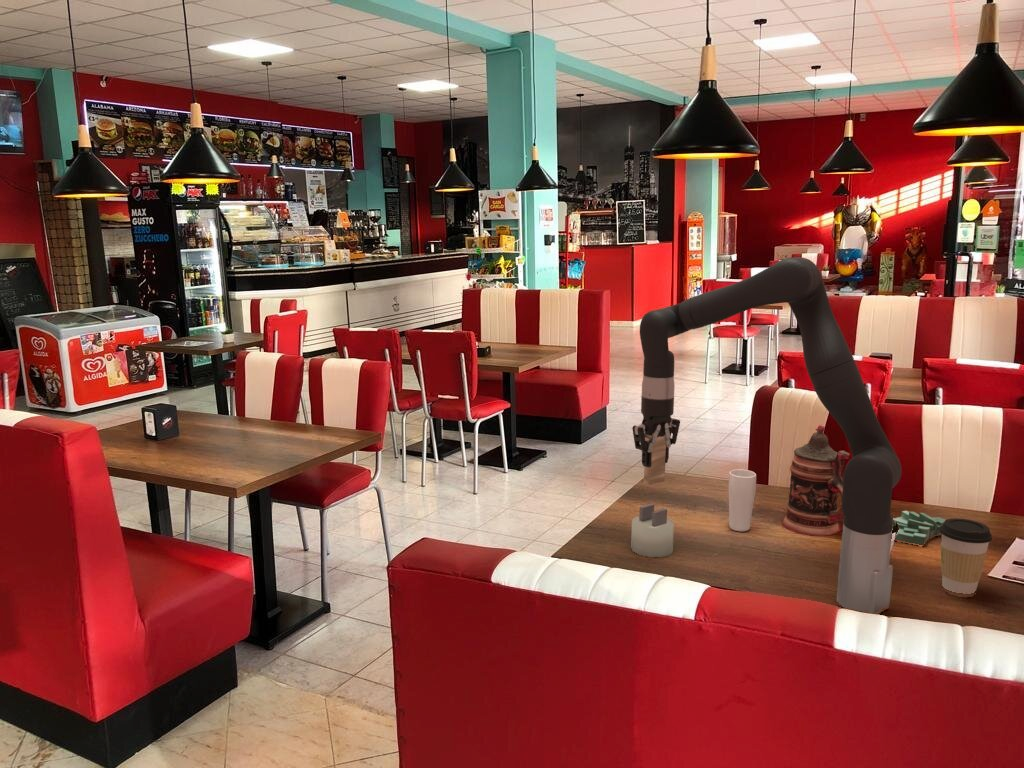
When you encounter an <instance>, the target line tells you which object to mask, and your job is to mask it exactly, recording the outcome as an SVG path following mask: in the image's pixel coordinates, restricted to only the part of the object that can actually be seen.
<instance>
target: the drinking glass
mask: <svg viewBox="0 0 1024 768" xmlns="http://www.w3.org/2000/svg"><path fill="white" fill-rule="evenodd" d="M727 485H728V488H727V489H728V517H729V518H728V527H729V529H731V530H732V531H734V532H735V531H736V532H741V533H743V532H748V531H750V529H751V524H752V515H753V508H754V504H755V497H756V488H757V474H756V473H755V472H754V471H752V470H748V469H742V468H741V469H740V468H739V469H732V470H730V471H729V476H728V484H727Z"/></svg>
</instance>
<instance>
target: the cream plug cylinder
mask: <svg viewBox="0 0 1024 768" xmlns="http://www.w3.org/2000/svg"><path fill="white" fill-rule="evenodd" d="M638 514H639V515H637V516H634V517H632V520H631V537H630V538H631V539H630V550H631V549H632V550H631V551H632V552H633V551H634V552H635V553H634V552H633V553H634V554H636V553H637V554H636V555H638V554H640V555H639V556H641V555H643V556H642V557H645V556H648V557H647V558H653V557H658V558H665V557H668V556H670V555H671V554H672V553H673V552H674V531H675V530H674V527H675V523H674V520H673V519H671V518H670V517H668V508H660V509H658V510H655V504H654V503H652V502H651V503H649V504H645V505H641V506H639V513H638ZM664 556H665V557H664Z"/></svg>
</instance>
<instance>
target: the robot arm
mask: <svg viewBox="0 0 1024 768" xmlns="http://www.w3.org/2000/svg"><path fill="white" fill-rule="evenodd" d="M822 276H823V275H822V274H821V271H820V269H819V267H818V266H817V265H816V264H815V262H813V261H812V260H810V259H809V258H806V257H801V256H800V257H799V256H798V257H797V256H796V257H786V258H782V259H780V260H779V261H777V262H776V263H774V264H772V265H770V266H768V267H767V268H765V269H763V270H762V271H760V272H757V273H756V274H753V275H751V276H750V277H748V278H745V279H743V280H741V281H738V282H735V283H732V284H730V285H726V286H722V287H720V288H717V289H714V290H713V289H712V290H710V291H707V292H703V293H701V294H697V295H696V296H691V297H689V298H687V299H685V300H683V301H682V302H680V303H676V304H673V305H671V306H668V307H667V306H666V307H663V308H658V309H655V310H654V309H653V310H650V311H647V312H646V313H645V314H644V315H643V316H642V318H641V321H640V325H639V336H640V337H639V338H640V343H641V344H640V345H641V349H642V353H643V373H642V374H643V375H642V381H641V398H640V399H641V400H640V401H641V402H640V403H641V405H640V412H641V414H642V416H643V418H642V421H641V424H639V425H633V426H632V434H633V443H634V447H635V449H636V450H640V451H641V464H642V466H643V467H644V466H645V467H651V460H652V452H651V451H652V447H653V444H654V443H655V442H656V439H657V437H659V436H660V437H663V436H664V435H665V442H666V455H665V464H667V463H668V462H669V458H670V457H669V455H670V454H669V453H670V448H671V446H672V445H676V443H677V439H678V434H679V430H680V426H681V420H680V419H677V418H673V417H672V416H673V415H674V405H675V379H674V378H675V354H674V353H673V352H672V351H671V350H669V339H671V338H673V337H675V336H678V335H681V334H684V333H687V332H689V331H692V330H696V329H701V328H704V327H707V326H710V325H714V324H716V323H719V322H722V321H724V320H726V319H729V318H731V317H733V316H736V315H738V314H740V313H743V312H745V311H748V310H751V309H755V308H758V307H763V306H769V305H775V304H782V303H787V304H788V305H789V308H790V309H791V311H792V314H793V316H794V317H795V319H796V322H797V325H798V328H799V331H800V332H799V333H800V335H801V336H800V337H801V344H802V353H803V360H804V363H805V367H806V371H807V373H808V376H809V379H810V382H811V384H812V387H813V388H814V392H815V393H816V395H817V397H818V399H819V401H820V402H821V404H822V405H823V407H824V408H825V409H826V410H827V412H828V413H829V414H830V415H831V416H832V417H833V419H834V420H835V422H836V423H837V424H838V425H839V427H840V428H841V430H842V432H843V433H844V436H845V439H846V441H847V444H848V447H849V449H850V452H851V453H850V454H851V456H852V458H850V459H849V461H848V462H847V464H846V465H845V467H844V470H843V474H844V477H843V491H842V501H841V505H842V512H843V516H844V518H843V519H842V520H843V523H842V528H843V529H842V530H841V531H842V532H841V533H842V534H841V545H840V554H839V555H840V557H839V567H838V578H837V579H838V580H837V589H836V602H839V604H841V605H842V607H845V608H849V609H854V610H858V611H863V612H869V613H876V612H879V610H882V609H883V608H885V607H886V606H888V605H889V606H890V600H891V590H892V582H893V571H894V566H893V565H892V564H890V557H891V556H890V555H891V547H892V541H891V539H892V530H893V518H894V517H893V515H892V513H891V508H892V496H893V495H892V494H893V488H895V487H896V485H898V483H899V482H900V479H901V477H902V471H903V470H902V464H901V461H900V459H899V457H898V455H897V453H896V452H895V449H894V447H893V446H892V444H891V442H890V441H889V439H888V437H887V435H886V433H885V432H884V430H883V428H882V426H881V424H880V421H879V420H878V418H877V416H876V415H877V414H876V412H875V409H874V406H873V404H872V400H871V398H870V395H869V394H868V390H867V388H866V387H865V383H864V380H863V378H862V375H861V373H860V369H859V367H858V365H857V363H856V361H855V358H854V356H853V353H852V352H851V350H850V347H849V345H848V343H847V341H846V339H845V336H844V334H843V332H842V330H841V328H840V325H839V324H838V322H837V320H836V318H835V315H834V312H833V310H832V307H831V304H830V301H829V296H828V294H827V290H826V287H825V284H824V279H823V277H822ZM646 434H647V435H651V436H652V438H651V439H649V438H646V437H645V435H646ZM646 441H648V442H649V443H648V447H647V446H646ZM839 604H838V605H839ZM842 607H841V608H842ZM866 610H867V611H866ZM878 615H879V613H878Z"/></svg>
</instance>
